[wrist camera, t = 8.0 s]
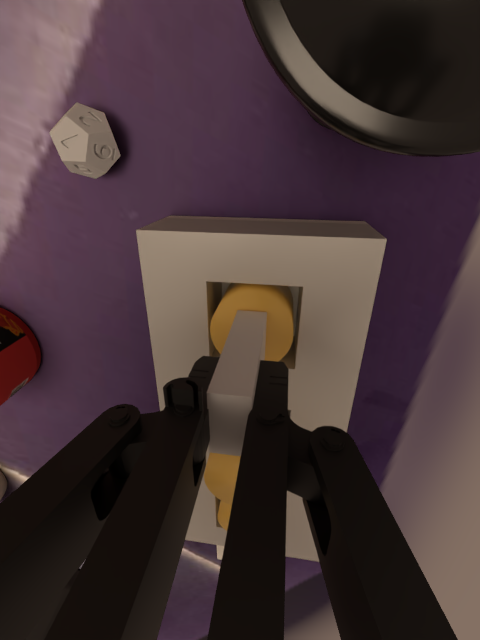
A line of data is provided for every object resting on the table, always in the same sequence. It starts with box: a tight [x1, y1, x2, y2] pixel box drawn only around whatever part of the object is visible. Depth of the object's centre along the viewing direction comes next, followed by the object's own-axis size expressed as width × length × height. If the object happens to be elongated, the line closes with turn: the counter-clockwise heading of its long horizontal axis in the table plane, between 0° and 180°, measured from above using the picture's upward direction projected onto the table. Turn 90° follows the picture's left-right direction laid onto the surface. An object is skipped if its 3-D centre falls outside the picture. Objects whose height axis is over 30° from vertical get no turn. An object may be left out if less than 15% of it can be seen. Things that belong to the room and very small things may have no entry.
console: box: [136, 216, 387, 562], centre depth 23 cm, size 26×12×5 cm, turn 179°
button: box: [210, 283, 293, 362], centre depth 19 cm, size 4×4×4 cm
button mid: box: [204, 453, 241, 505], centre depth 20 cm, size 4×4×4 cm
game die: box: [50, 102, 121, 179], centre depth 18 cm, size 4×4×3 cm
